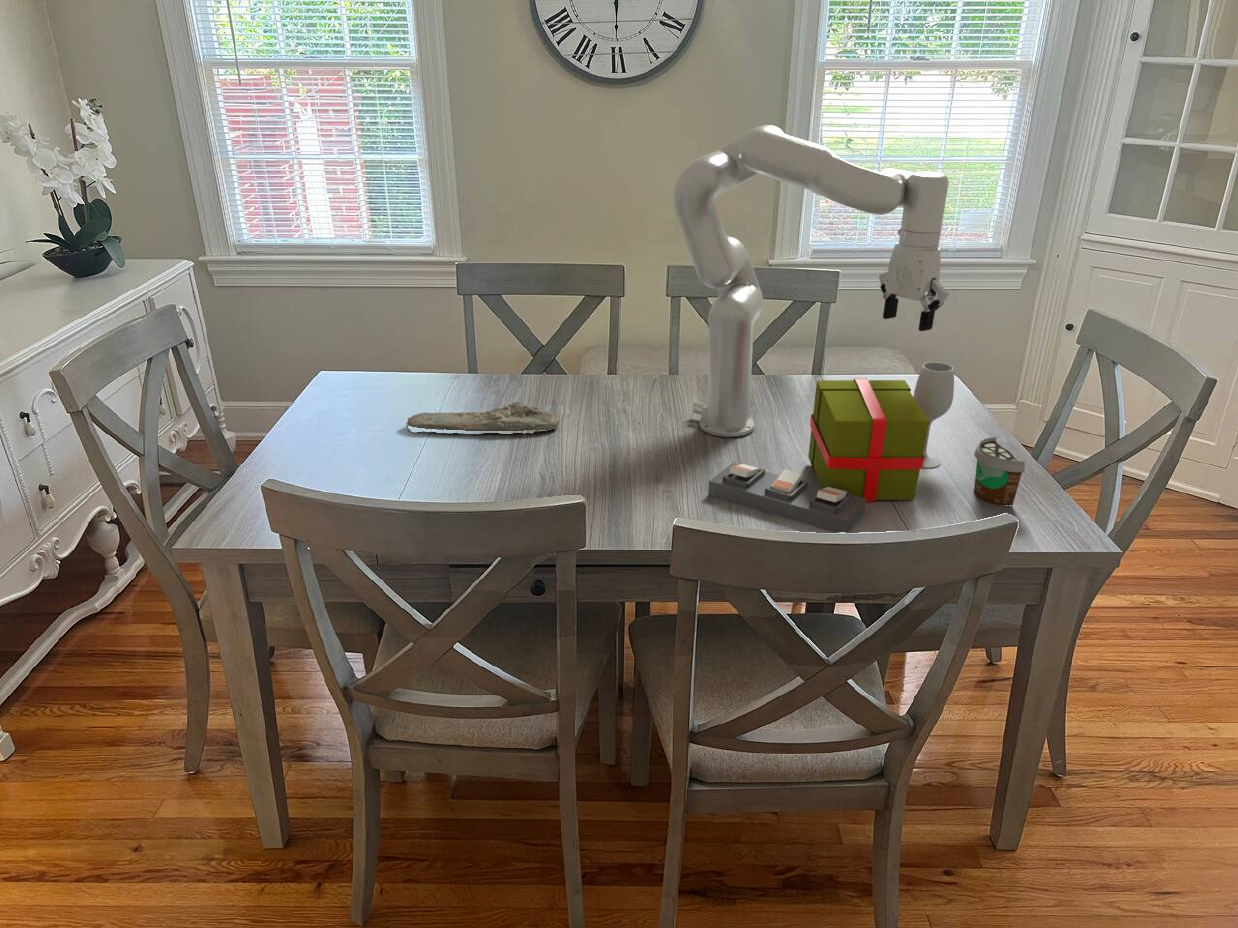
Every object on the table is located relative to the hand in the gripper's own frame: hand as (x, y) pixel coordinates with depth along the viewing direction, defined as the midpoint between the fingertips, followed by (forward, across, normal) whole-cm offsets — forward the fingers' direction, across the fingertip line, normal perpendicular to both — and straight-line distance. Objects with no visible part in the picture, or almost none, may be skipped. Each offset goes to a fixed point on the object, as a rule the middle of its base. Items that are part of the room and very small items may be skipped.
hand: (906, 323), depth 180 cm
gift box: (+28, +6, -15) cm, 33 cm away
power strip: (+28, +8, -36) cm, 46 cm away
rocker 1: (+24, 0, -40) cm, 46 cm away
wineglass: (+28, +8, +2) cm, 30 cm away
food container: (+28, +25, +1) cm, 38 cm away
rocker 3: (+24, +16, -32) cm, 43 cm away
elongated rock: (+29, -55, -72) cm, 95 cm away
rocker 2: (+24, +8, -36) cm, 44 cm away
